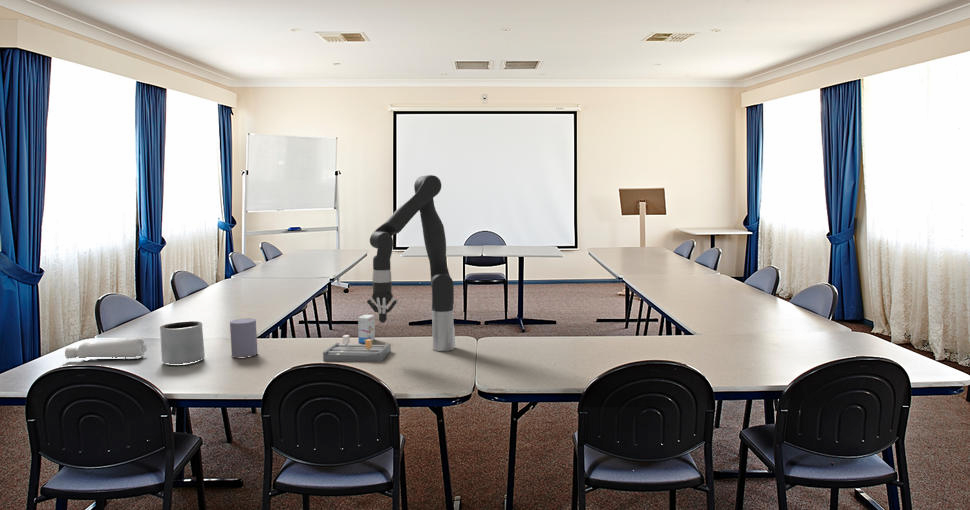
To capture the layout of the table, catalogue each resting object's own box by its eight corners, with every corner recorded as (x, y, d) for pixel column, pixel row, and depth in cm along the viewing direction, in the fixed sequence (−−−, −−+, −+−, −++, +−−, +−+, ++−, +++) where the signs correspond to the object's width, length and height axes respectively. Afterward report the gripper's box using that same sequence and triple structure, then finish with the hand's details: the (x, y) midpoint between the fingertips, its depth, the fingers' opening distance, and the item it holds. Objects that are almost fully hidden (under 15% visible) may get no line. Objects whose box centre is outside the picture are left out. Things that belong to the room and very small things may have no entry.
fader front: (372, 351, 267) (371, 339, 266) (370, 352, 264) (369, 340, 263) (367, 350, 267) (367, 339, 267) (365, 352, 264) (365, 340, 264)
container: (262, 355, 274) (260, 320, 272) (238, 360, 267) (236, 324, 265) (250, 351, 281) (248, 317, 279) (227, 355, 274) (225, 321, 272)
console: (390, 351, 276) (390, 343, 276) (380, 361, 261) (380, 353, 260) (336, 350, 279) (336, 342, 279) (323, 360, 263) (322, 352, 263)
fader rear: (349, 346, 275) (349, 334, 275) (347, 348, 272) (347, 336, 272) (345, 346, 275) (344, 334, 275) (343, 348, 272) (342, 336, 272)
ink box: (368, 343, 291) (367, 318, 290) (358, 343, 292) (357, 317, 291) (375, 339, 300) (374, 314, 299) (365, 338, 301) (364, 314, 300)
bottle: (149, 347, 277) (76, 352, 274) (142, 332, 272) (67, 337, 268) (143, 363, 271) (68, 368, 267) (136, 348, 265) (59, 354, 262)
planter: (213, 358, 270) (211, 321, 269) (184, 368, 255) (181, 330, 254) (183, 355, 276) (180, 319, 274) (152, 365, 260) (150, 327, 259)
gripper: (400, 279, 265) (401, 320, 266) (369, 279, 266) (370, 320, 268) (395, 282, 257) (396, 324, 259) (363, 281, 259) (364, 323, 261)
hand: (382, 322), depth 264 cm, fingers closed
